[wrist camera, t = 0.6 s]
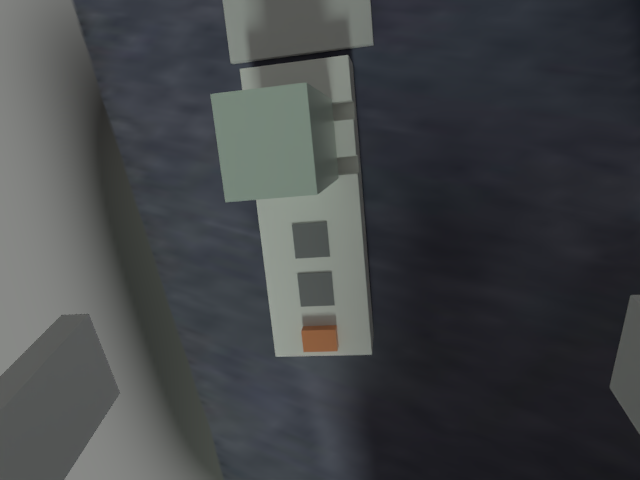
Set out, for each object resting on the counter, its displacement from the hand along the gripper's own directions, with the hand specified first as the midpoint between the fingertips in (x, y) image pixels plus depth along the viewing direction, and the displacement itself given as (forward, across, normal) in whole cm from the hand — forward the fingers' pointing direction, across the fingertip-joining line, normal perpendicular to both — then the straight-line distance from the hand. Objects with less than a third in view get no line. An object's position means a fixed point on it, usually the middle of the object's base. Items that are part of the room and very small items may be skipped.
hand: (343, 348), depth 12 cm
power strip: (+22, +3, +6) cm, 23 cm away
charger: (+22, +4, 0) cm, 22 cm away
